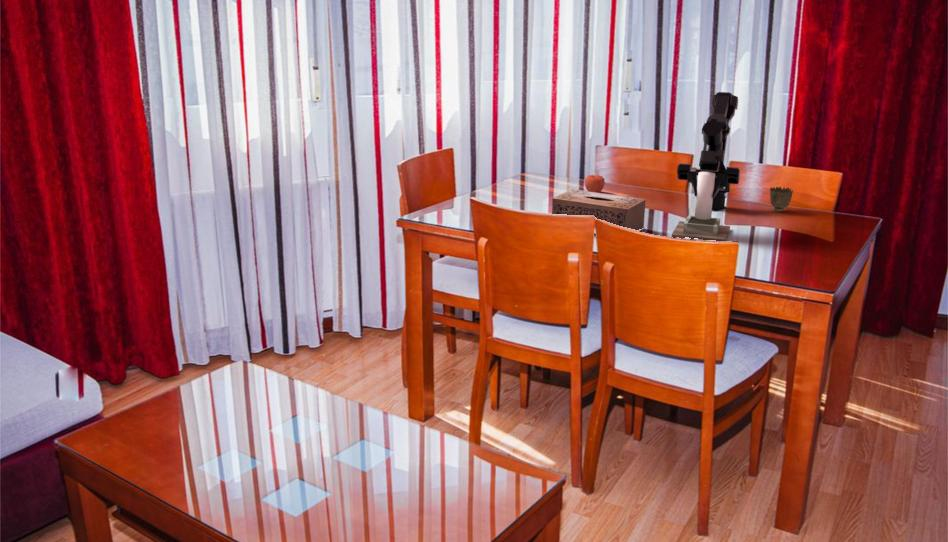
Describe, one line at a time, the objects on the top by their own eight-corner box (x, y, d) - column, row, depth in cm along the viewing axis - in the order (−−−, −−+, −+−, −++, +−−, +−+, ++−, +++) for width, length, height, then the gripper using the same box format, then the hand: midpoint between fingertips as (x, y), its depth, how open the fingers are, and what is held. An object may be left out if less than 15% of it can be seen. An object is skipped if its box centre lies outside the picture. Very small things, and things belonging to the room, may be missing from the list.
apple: (592, 190, 320) (593, 169, 318) (608, 193, 315) (609, 172, 312) (580, 193, 315) (581, 172, 313) (595, 196, 310) (596, 175, 308)
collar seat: (679, 224, 275) (680, 212, 274) (729, 229, 269) (731, 217, 268) (671, 237, 261) (672, 224, 260) (724, 243, 255) (726, 230, 254)
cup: (793, 214, 287) (796, 191, 285) (771, 214, 287) (774, 191, 285) (786, 208, 294) (788, 186, 292) (764, 208, 294) (767, 186, 292)
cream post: (691, 215, 265) (695, 171, 261) (707, 214, 266) (711, 171, 262) (698, 219, 261) (702, 175, 256) (713, 219, 262) (717, 174, 257)
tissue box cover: (643, 229, 271) (645, 199, 267) (626, 240, 259) (628, 209, 256) (571, 218, 284) (572, 189, 280) (551, 228, 272) (552, 198, 269)
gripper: (680, 137, 262) (672, 180, 256) (742, 141, 256) (735, 185, 250) (682, 157, 272) (674, 199, 266) (742, 162, 265) (735, 204, 259)
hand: (704, 196), depth 260 cm, fingers closed on cream post, 5 cm apart
